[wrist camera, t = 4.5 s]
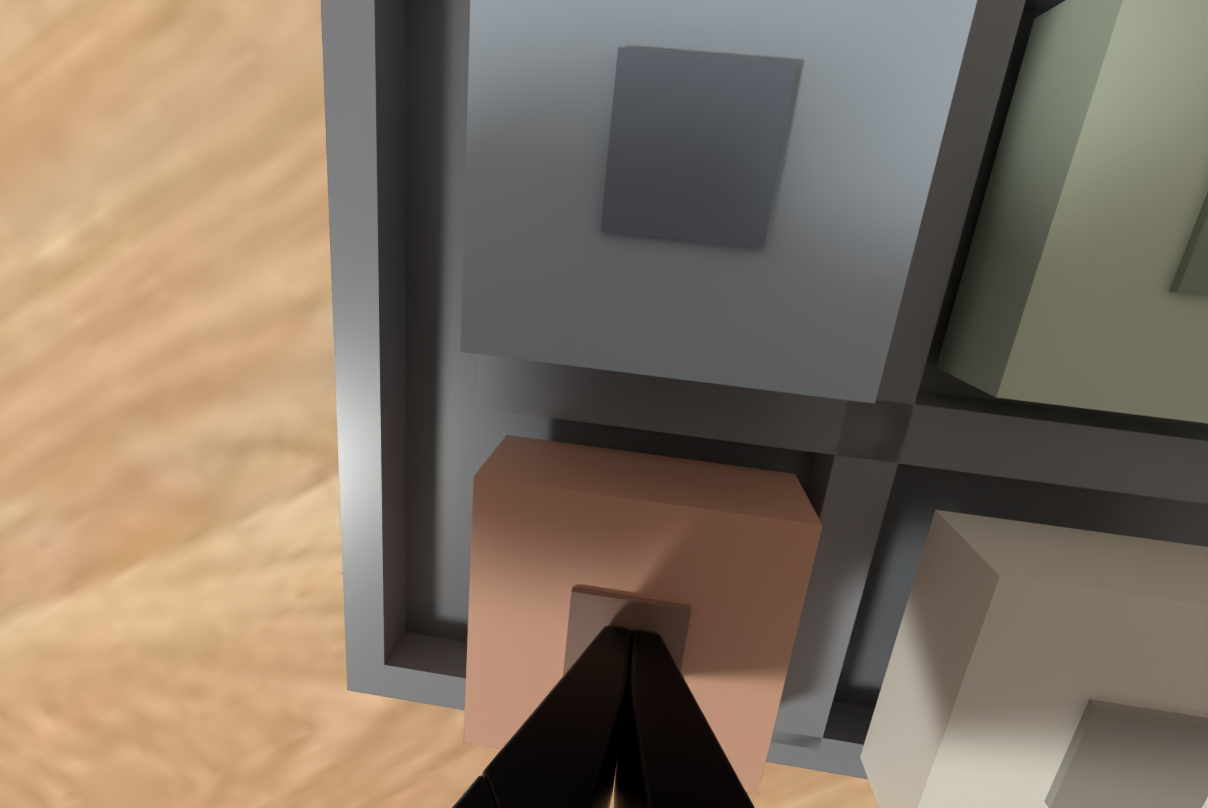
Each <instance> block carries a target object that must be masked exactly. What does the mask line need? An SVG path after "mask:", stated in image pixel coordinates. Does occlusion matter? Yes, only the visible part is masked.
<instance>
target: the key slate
mask: <svg viewBox="0 0 1208 808" xmlns="http://www.w3.org/2000/svg"><path fill="white" fill-rule="evenodd" d="M976 3H977V0H470V30H469V66H468V102H467V137H466V173H465V209H464V245H463V281H462V316H461V352H465V353H473V354H481V355H489V356H497V357H505V358H513V359H521V360H529V361H537V362H545V363H553V364H561V365H570V366H578V367H586V368H594V369H602V370H610V371H618V372H626V373H634V374H642V375H650V376H658V377H666V378H674V379H682V380H690V381H698V382H706V383H714V384H722V385H730V386H738V387H746V388H754V389H762V390H770V391H778V392H786V393H794V394H802V395H810V396H818V397H826V398H834V399H842V400H850V401H858V402H866V403H874V404H875V401H876V397H877V393H878V389H879V385H880V381H881V378H882V374H883V370H884V366H885V362H886V358H887V354H888V350H889V346H890V342H891V338H892V334H893V330H894V326H895V322H896V318H897V314H898V311H899V307H900V303H901V299H902V295H903V291H904V287H905V283H906V279H907V275H908V271H909V267H910V263H911V259H912V255H913V251H914V247H915V244H916V240H917V236H918V232H919V228H920V224H921V220H922V216H923V212H924V208H925V204H926V200H927V196H928V192H929V188H930V184H931V180H932V177H933V173H934V169H935V165H936V161H937V157H938V153H939V149H940V145H941V141H942V137H943V133H944V129H945V125H946V121H947V117H948V113H949V110H950V106H951V102H952V98H953V94H954V90H955V86H956V82H957V78H958V74H959V70H960V66H961V62H962V58H963V54H964V50H965V47H966V43H967V39H968V35H969V31H970V27H971V23H972V19H973V15H974V11H975V7H976Z"/></svg>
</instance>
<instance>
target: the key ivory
mask: <svg viewBox="0 0 1208 808" xmlns="http://www.w3.org/2000/svg"><path fill="white" fill-rule="evenodd" d="M860 758H861V761H862V764H863V766H864V769H865V772H866V775H867V777H868V780H869V783H870V785H871V788H872V791H873V794H874V796H875V799H876V802H877V804H878V807H879V808H1208V547H1204V546H1197V545H1190V544H1183V543H1175V542H1168V541H1161V540H1153V539H1146V538H1139V537H1131V536H1124V535H1117V534H1109V533H1102V532H1095V531H1087V530H1080V529H1073V528H1065V527H1058V526H1051V525H1044V524H1036V523H1029V522H1022V521H1014V520H1007V519H1000V518H992V517H985V516H978V515H970V514H963V513H956V512H948V511H941V510H935V513H934V516H933V519H932V523H931V526H930V529H929V533H928V536H927V539H926V542H925V546H924V549H923V552H922V556H921V559H920V562H919V565H918V569H917V572H916V575H915V579H914V582H913V585H912V588H911V592H910V595H909V598H908V602H907V605H906V608H905V611H904V615H903V618H902V621H901V625H900V628H899V631H898V635H897V638H896V641H895V644H894V648H893V651H892V654H891V658H890V661H889V664H888V667H887V671H886V674H885V677H884V681H883V684H882V687H881V690H880V694H879V697H878V700H877V704H876V707H875V710H874V713H873V717H872V720H871V723H870V727H869V730H868V733H867V736H866V740H865V743H864V746H863V750H862V753H861V756H860Z"/></svg>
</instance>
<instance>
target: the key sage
mask: <svg viewBox="0 0 1208 808" xmlns="http://www.w3.org/2000/svg"><path fill="white" fill-rule="evenodd" d="M936 368H938V369H940V370H942V371H944V372H946V373H948V374H950V375H952V376H954V377H956V378H958V379H960V380H962V381H964V382H966V383H968V384H970V385H972V386H974V387H976V388H978V389H980V390H982V391H984V392H986V393H988V394H990V395H992V396H994V397H996V398H1004V399H1012V400H1021V401H1029V402H1037V403H1045V404H1053V405H1062V406H1070V407H1078V408H1086V409H1094V410H1103V411H1111V412H1119V413H1127V414H1135V415H1143V416H1152V417H1160V418H1168V419H1176V420H1184V421H1193V422H1201V423H1208V0H1065V1H1064V2H1062V3H1060V4H1058V5H1057V6H1055V7H1053V8H1052V9H1050V10H1048V11H1047V12H1045V13H1043V14H1041V15H1040V16H1038V17H1036V18H1035V19H1034V22H1033V26H1032V29H1031V33H1030V36H1029V40H1028V43H1027V47H1026V51H1025V54H1024V58H1023V61H1022V65H1021V68H1020V72H1019V75H1018V79H1017V82H1016V86H1015V90H1014V93H1013V97H1012V100H1011V104H1010V107H1009V111H1008V114H1007V118H1006V122H1005V125H1004V129H1003V132H1002V136H1001V139H1000V143H999V146H998V150H997V154H996V157H995V161H994V164H993V168H992V171H991V175H990V178H989V182H988V185H987V189H986V193H985V196H984V200H983V203H982V207H981V210H980V214H979V217H978V221H977V225H976V228H975V232H974V235H973V239H972V242H971V246H970V249H969V253H968V257H967V260H966V264H965V267H964V271H963V274H962V278H961V281H960V285H959V288H958V292H957V296H956V299H955V303H954V306H953V310H952V313H951V317H950V320H949V324H948V328H947V331H946V335H945V338H944V342H943V345H942V349H941V352H940V356H939V360H938V363H937V367H936Z"/></svg>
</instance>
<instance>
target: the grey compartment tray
mask: <svg viewBox="0 0 1208 808" xmlns="http://www.w3.org/2000/svg"><path fill="white" fill-rule="evenodd" d="M1064 1H1065V0H977V3H976V7H975V11H974V15H973V19H972V23H971V27H970V31H969V35H968V39H967V43H966V47H965V50H964V54H963V58H962V62H961V66H960V70H959V74H958V78H957V82H956V86H955V90H954V94H953V98H952V102H951V106H950V110H949V113H948V117H947V121H946V125H945V129H944V133H943V137H942V141H941V145H940V149H939V153H938V157H937V161H936V165H935V169H934V173H933V177H932V180H931V184H930V188H929V192H928V196H927V200H926V204H925V208H924V212H923V216H922V220H921V224H920V228H919V232H918V236H917V240H916V244H915V247H914V251H913V255H912V259H911V263H910V267H909V271H908V275H907V279H906V283H905V287H904V291H903V295H902V299H901V303H900V307H899V311H898V314H897V318H896V322H895V326H894V330H893V334H892V338H891V342H890V346H889V350H888V354H887V358H886V362H885V366H884V370H883V374H882V378H881V381H880V385H879V389H878V393H877V397H876V401H875V404H874V403H866V402H858V401H850V400H842V399H834V398H826V397H818V396H810V395H802V394H794V393H786V392H778V391H770V390H762V389H754V388H746V387H738V386H730V385H722V384H714V383H706V382H698V381H690V380H682V379H674V378H666V377H658V376H650V375H642V374H634V373H626V372H618V371H610V370H602V369H594V368H586V367H578V366H570V365H561V364H553V363H545V362H537V361H529V360H521V359H513V358H505V357H497V356H489V355H481V354H473V353H465V352H461V316H462V281H463V245H464V209H465V173H466V137H467V102H468V66H469V30H470V0H321V18H322V44H323V70H324V96H325V122H326V147H327V173H328V199H329V225H330V251H331V277H332V303H333V328H334V354H335V380H336V406H337V432H338V458H339V484H340V510H341V535H342V561H343V587H344V613H345V639H346V665H347V690H349V691H355V692H361V693H367V694H372V695H378V696H384V697H390V698H396V699H402V700H408V701H413V702H419V703H425V704H431V705H437V706H443V707H449V708H454V709H460V710H465V694H466V667H467V640H468V613H469V586H470V560H471V533H472V506H473V479H474V475H475V474H476V473H477V472H478V470H479V469H480V468H481V467H482V465H483V464H484V463H485V462H486V460H487V459H488V458H489V457H490V455H491V454H492V453H493V452H494V450H495V449H496V448H497V447H498V445H499V444H500V443H501V441H502V440H503V439H504V438H505V436H506V435H511V436H518V437H526V438H533V439H540V440H548V441H555V442H563V443H570V444H578V445H585V446H592V447H600V448H607V449H615V450H622V451H630V452H637V453H644V454H652V455H659V456H667V457H674V458H682V459H689V460H696V461H704V462H711V463H719V464H726V465H734V466H741V467H748V468H756V469H763V470H771V471H778V472H786V473H793V474H795V475H796V477H797V478H798V480H799V482H800V484H801V486H802V488H803V490H804V492H805V493H806V495H807V497H808V499H809V501H810V503H811V505H812V507H813V508H814V510H815V512H816V514H817V516H818V518H819V520H820V522H821V523H822V525H823V526H822V530H821V534H820V538H819V542H818V547H817V551H816V555H815V559H814V563H813V567H812V571H811V576H810V580H809V584H808V588H807V592H806V596H805V600H804V605H803V609H802V613H801V617H800V621H799V625H798V629H797V634H796V638H795V642H794V646H793V650H792V654H791V658H790V663H789V667H788V671H787V675H786V679H785V683H784V687H783V692H782V696H781V700H780V704H779V708H778V712H777V716H776V721H775V725H774V729H773V733H772V737H771V741H770V745H769V750H768V754H767V758H766V762H771V763H776V764H782V765H788V766H794V767H800V768H806V769H812V770H817V771H823V772H829V773H835V774H841V775H847V776H853V777H858V778H864V779H868V777H867V775H866V772H865V769H864V766H863V764H862V761H861V758H860V756H861V753H862V750H863V746H864V743H865V740H866V736H867V733H868V730H869V727H870V723H871V720H872V717H873V713H874V710H875V707H876V704H877V700H878V697H879V694H880V690H881V687H882V684H883V681H884V677H885V674H886V671H887V667H888V664H889V661H890V658H891V654H892V651H893V648H894V644H895V641H896V638H897V635H898V631H899V628H900V625H901V621H902V618H903V615H904V611H905V608H906V605H907V602H908V598H909V595H910V592H911V588H912V585H913V582H914V579H915V575H916V572H917V569H918V565H919V562H920V559H921V556H922V552H923V549H924V546H925V542H926V539H927V536H928V533H929V529H930V526H931V523H932V519H933V516H934V513H935V510H941V511H948V512H956V513H963V514H970V515H978V516H985V517H992V518H1000V519H1007V520H1014V521H1022V522H1029V523H1036V524H1044V525H1051V526H1058V527H1065V528H1073V529H1080V530H1087V531H1095V532H1102V533H1109V534H1117V535H1124V536H1131V537H1139V538H1146V539H1153V540H1161V541H1168V542H1175V543H1183V544H1190V545H1197V546H1204V547H1208V423H1201V422H1193V421H1184V420H1176V419H1168V418H1160V417H1152V416H1143V415H1135V414H1127V413H1119V412H1111V411H1103V410H1094V409H1086V408H1078V407H1070V406H1062V405H1053V404H1045V403H1037V402H1029V401H1021V400H1012V399H1004V398H996V397H994V396H992V395H990V394H988V393H986V392H984V391H982V390H980V389H978V388H976V387H974V386H972V385H970V384H968V383H966V382H964V381H962V380H960V379H958V378H956V377H954V376H952V375H950V374H948V373H946V372H944V371H942V370H940V369H938V368H936V367H937V363H938V360H939V356H940V352H941V349H942V345H943V342H944V338H945V335H946V331H947V328H948V324H949V320H950V317H951V313H952V310H953V306H954V303H955V299H956V296H957V292H958V288H959V285H960V281H961V278H962V274H963V271H964V267H965V264H966V260H967V257H968V253H969V249H970V246H971V242H972V239H973V235H974V232H975V228H976V225H977V221H978V217H979V214H980V210H981V207H982V203H983V200H984V196H985V193H986V189H987V185H988V182H989V178H990V175H991V171H992V168H993V164H994V161H995V157H996V154H997V150H998V146H999V143H1000V139H1001V136H1002V132H1003V129H1004V125H1005V122H1006V118H1007V114H1008V111H1009V107H1010V104H1011V100H1012V97H1013V93H1014V90H1015V86H1016V82H1017V79H1018V75H1019V72H1020V68H1021V65H1022V61H1023V58H1024V54H1025V51H1026V47H1027V43H1028V40H1029V36H1030V33H1031V29H1032V26H1033V22H1034V19H1035V18H1036V17H1038V16H1040V15H1041V14H1043V13H1045V12H1047V11H1048V10H1050V9H1052V8H1053V7H1055V6H1057V5H1058V4H1060V3H1062V2H1064Z"/></svg>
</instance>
